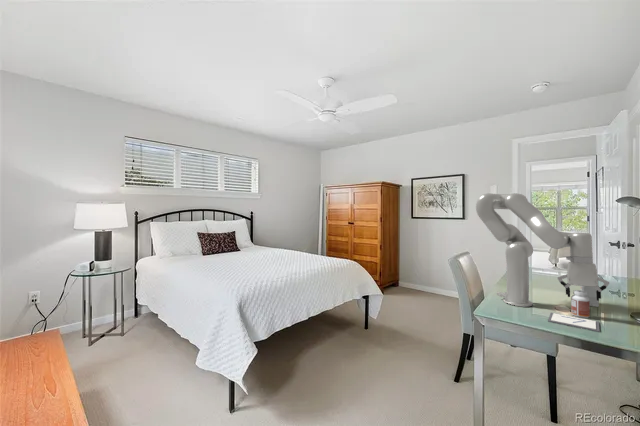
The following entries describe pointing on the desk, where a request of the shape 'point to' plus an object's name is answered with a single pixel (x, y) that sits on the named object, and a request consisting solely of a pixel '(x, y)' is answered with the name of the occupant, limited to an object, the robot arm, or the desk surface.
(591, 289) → the small box
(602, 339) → the desk surface
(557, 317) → the writing mat
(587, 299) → the pill bottle
